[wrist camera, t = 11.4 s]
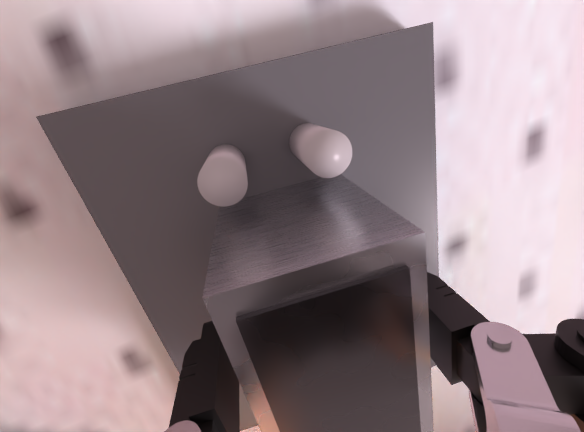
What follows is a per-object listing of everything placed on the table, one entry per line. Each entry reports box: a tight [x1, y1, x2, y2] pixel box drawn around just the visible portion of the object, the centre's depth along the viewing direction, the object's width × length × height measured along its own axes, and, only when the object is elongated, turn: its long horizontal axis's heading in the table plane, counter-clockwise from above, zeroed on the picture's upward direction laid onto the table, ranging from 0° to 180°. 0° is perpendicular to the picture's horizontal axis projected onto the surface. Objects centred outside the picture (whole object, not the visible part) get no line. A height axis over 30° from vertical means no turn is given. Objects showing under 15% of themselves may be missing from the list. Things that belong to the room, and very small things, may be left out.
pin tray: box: [37, 22, 439, 431], centre depth 13 cm, size 14×18×4 cm
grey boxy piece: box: [202, 174, 433, 432], centre depth 11 cm, size 5×9×6 cm, turn 13°
